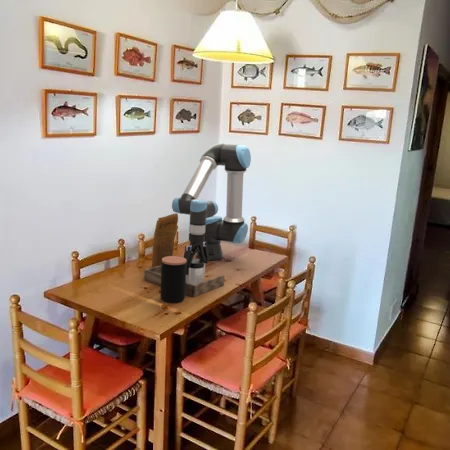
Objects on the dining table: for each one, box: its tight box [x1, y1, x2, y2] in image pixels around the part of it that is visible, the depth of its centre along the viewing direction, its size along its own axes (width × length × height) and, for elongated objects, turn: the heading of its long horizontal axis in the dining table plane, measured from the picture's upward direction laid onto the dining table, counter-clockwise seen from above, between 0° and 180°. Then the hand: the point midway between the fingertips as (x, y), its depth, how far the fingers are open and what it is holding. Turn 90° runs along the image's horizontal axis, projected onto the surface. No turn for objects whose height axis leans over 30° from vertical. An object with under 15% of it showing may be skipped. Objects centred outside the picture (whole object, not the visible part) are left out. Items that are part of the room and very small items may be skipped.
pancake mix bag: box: [151, 212, 179, 268], centre depth 244 cm, size 7×19×28 cm, turn 144°
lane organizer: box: [143, 265, 225, 298], centre depth 224 cm, size 22×32×5 cm
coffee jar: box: [160, 255, 187, 304], centre depth 200 cm, size 11×11×18 cm
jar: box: [186, 258, 204, 285], centre depth 221 cm, size 9×8×12 cm
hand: (194, 278), depth 221 cm, fingers open, 10 cm apart
